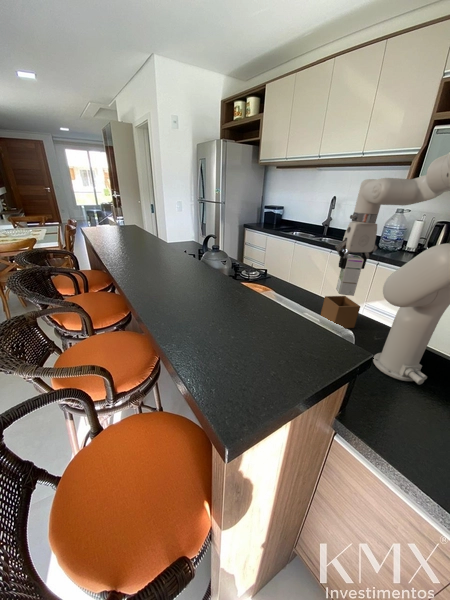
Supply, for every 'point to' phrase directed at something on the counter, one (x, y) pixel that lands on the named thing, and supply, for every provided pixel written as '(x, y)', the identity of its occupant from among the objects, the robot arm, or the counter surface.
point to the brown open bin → (340, 310)
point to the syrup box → (350, 275)
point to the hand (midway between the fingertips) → (351, 267)
